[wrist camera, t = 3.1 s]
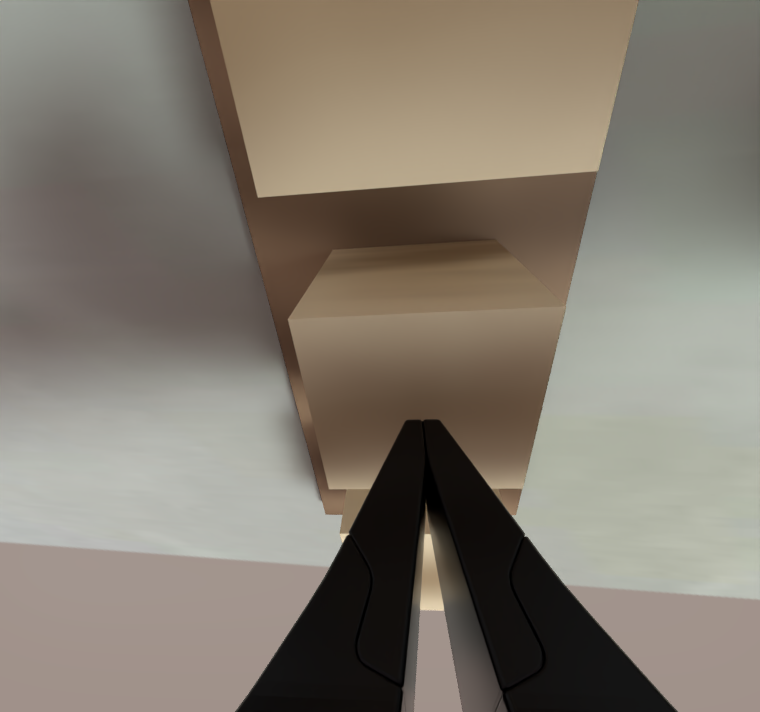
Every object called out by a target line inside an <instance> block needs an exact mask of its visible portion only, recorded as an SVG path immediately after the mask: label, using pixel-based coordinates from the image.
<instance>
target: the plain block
mask: <svg viewBox="0 0 760 712" xmlns="http://www.w3.org/2000/svg"><path fill="white" fill-rule="evenodd" d="M565 309H566V306H565V305H564V304H563V303H562V302H561V301H560V300H559V299H558V298H557V297H556V296H555V295H554V294H553V293H552V292H551V291H550V290H549V289H548V288H546V287H545V286H544V285H543V284H542V283H541V282H540V281H539V280H538V279H537V278H536V277H535V276H534V275H533V274H532V273H531V272H530V271H529V270H528V269H527V268H525V267H524V266H523V265H522V264H521V263H520V262H519V261H518V260H517V259H516V258H515V257H514V256H513V255H512V254H511V253H510V252H509V251H508V250H507V249H505V248H504V247H503V246H502V245H501V244H500V243H499V242H498V241H497V240H496V239H495V240H479V241H464V242H448V243H432V244H416V245H401V246H385V247H369V248H354V249H338V250H333V251H332V252H331V254H330V255H329V257H328V258H327V260H326V261H325V263H324V264H323V266H322V268H321V269H320V271H319V272H318V274H317V275H316V277H315V278H314V280H313V281H312V283H311V284H310V286H309V287H308V289H307V291H306V292H305V294H304V295H303V297H302V298H301V300H300V301H299V303H298V304H297V306H296V307H295V309H294V311H293V312H292V314H291V315H290V317H289V318H288V322H289V326H290V330H291V334H292V339H293V343H294V347H295V351H296V355H297V359H298V363H299V367H300V372H301V376H302V380H303V384H304V388H305V392H306V396H307V400H308V404H309V409H310V413H311V417H312V421H313V425H314V429H315V433H316V437H317V441H318V446H319V450H320V454H321V458H322V462H323V466H324V470H325V474H326V479H327V483H328V487H329V489H371V487H372V485H373V483H374V481H375V479H376V477H377V475H378V473H379V471H380V469H381V467H382V465H383V463H384V461H385V459H386V457H387V455H388V453H389V451H390V450H391V448H392V446H393V444H394V442H395V440H396V438H397V436H398V434H399V432H400V430H401V428H402V426H403V424H404V422H405V421H406V420H408V419H420V420H422V422H423V420H424V419H439V420H440V421H441V422H442V423H443V425H444V426H445V427H446V429H447V430H448V431H449V433H450V434H451V435H452V437H453V438H454V439H455V441H456V442H457V443H458V445H459V446H460V447H461V449H462V450H463V451H464V453H465V454H466V455H467V457H468V458H469V459H470V461H471V462H472V463H473V465H474V466H475V467H476V469H477V470H478V471H479V473H480V474H481V475H482V477H483V478H484V479H485V481H486V482H487V483H488V485H489V486H490V487H491V489H523V485H524V481H525V477H526V473H527V469H528V464H529V460H530V456H531V452H532V448H533V443H534V439H535V435H536V431H537V427H538V423H539V418H540V414H541V410H542V406H543V402H544V397H545V393H546V389H547V385H548V381H549V376H550V372H551V368H552V364H553V360H554V355H555V351H556V347H557V343H558V339H559V334H560V330H561V326H562V322H563V318H564V313H565Z"/></svg>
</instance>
